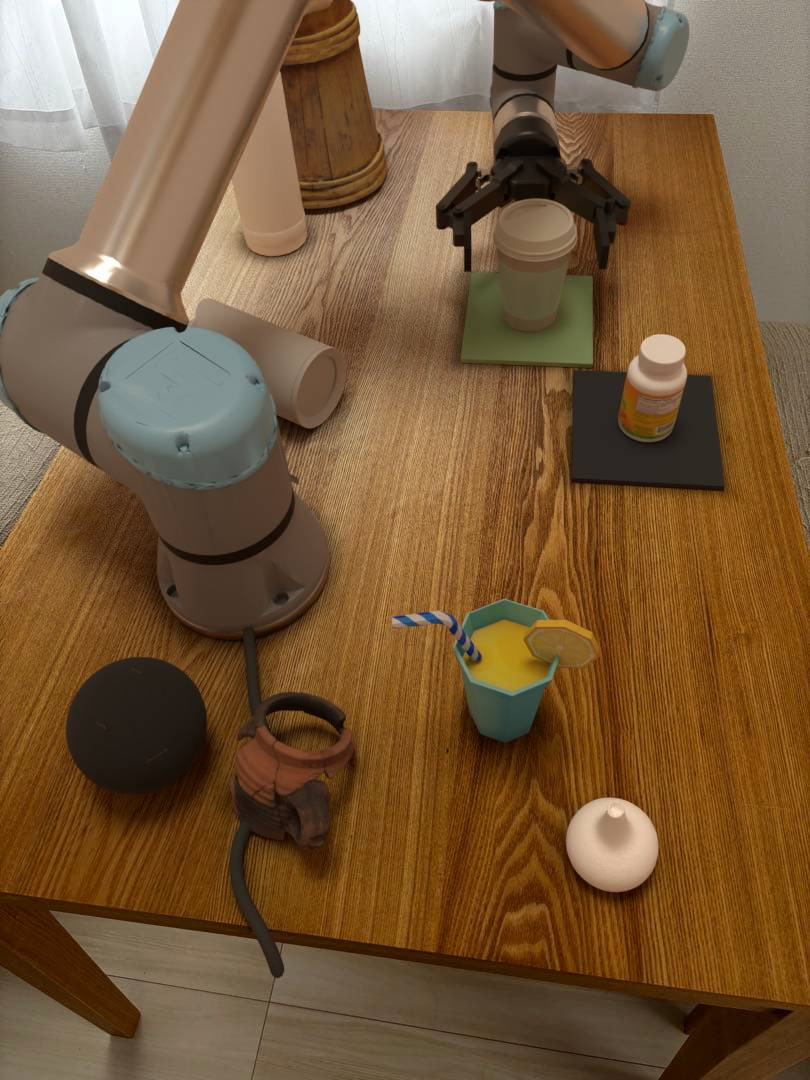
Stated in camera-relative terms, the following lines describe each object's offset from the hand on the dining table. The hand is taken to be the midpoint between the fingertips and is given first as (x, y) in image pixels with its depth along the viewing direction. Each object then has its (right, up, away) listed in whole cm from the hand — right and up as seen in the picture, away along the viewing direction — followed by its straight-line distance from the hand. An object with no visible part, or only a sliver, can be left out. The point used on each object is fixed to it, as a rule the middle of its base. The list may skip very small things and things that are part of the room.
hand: (535, 259), depth 87 cm
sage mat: (+1, -3, +10) cm, 11 cm away
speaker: (-33, -45, -18) cm, 58 cm away
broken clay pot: (-21, -47, -21) cm, 56 cm away
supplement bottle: (+11, -17, -1) cm, 20 cm away
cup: (-6, -42, -18) cm, 46 cm away
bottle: (-29, +10, +22) cm, 38 cm away
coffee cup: (+1, -3, +10) cm, 11 cm away
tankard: (-24, +23, +32) cm, 46 cm away
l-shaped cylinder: (-30, -14, +5) cm, 33 cm away
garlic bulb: (+2, -50, -25) cm, 56 cm away
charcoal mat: (+11, -17, -1) cm, 20 cm away
